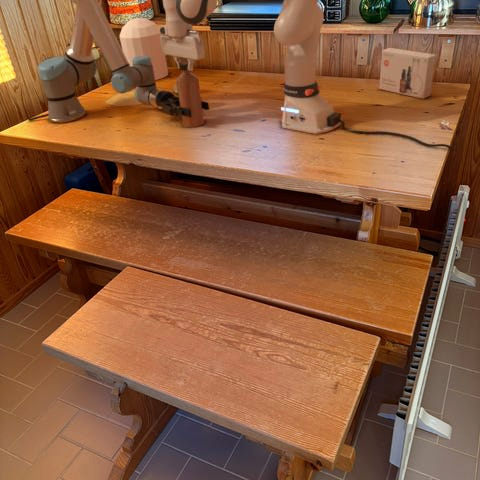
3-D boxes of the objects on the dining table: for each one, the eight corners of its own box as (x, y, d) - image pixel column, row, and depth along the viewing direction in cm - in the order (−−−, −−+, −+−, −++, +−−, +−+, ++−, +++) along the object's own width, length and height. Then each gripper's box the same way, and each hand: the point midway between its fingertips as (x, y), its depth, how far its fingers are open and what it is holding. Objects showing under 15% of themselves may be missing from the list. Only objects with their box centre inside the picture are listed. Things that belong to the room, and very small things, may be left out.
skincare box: (377, 89, 194) (381, 50, 185) (385, 86, 197) (389, 47, 188) (423, 99, 180) (429, 56, 171) (430, 95, 183) (437, 53, 174)
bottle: (191, 118, 185) (182, 61, 173) (208, 120, 181) (200, 62, 169) (178, 125, 179) (169, 67, 167) (196, 128, 175) (187, 69, 163)
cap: (186, 67, 171) (186, 61, 170) (193, 68, 168) (192, 62, 167) (178, 69, 169) (177, 63, 168) (184, 71, 166) (183, 65, 165)
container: (160, 81, 233) (149, 21, 217) (121, 82, 238) (108, 23, 222) (174, 69, 249) (165, 13, 233) (138, 70, 254) (126, 15, 238)
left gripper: (184, 101, 196) (220, 111, 182) (143, 116, 184) (179, 128, 170) (181, 83, 191) (218, 92, 177) (139, 97, 180) (175, 108, 166)
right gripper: (206, 29, 156) (211, 71, 164) (169, 25, 169) (175, 64, 177) (192, 33, 153) (198, 75, 161) (155, 28, 165) (162, 68, 173)
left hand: (199, 109), depth 174 cm, fingers closed on bottle, 8 cm apart
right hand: (185, 69), depth 169 cm, fingers closed on cap, 4 cm apart
